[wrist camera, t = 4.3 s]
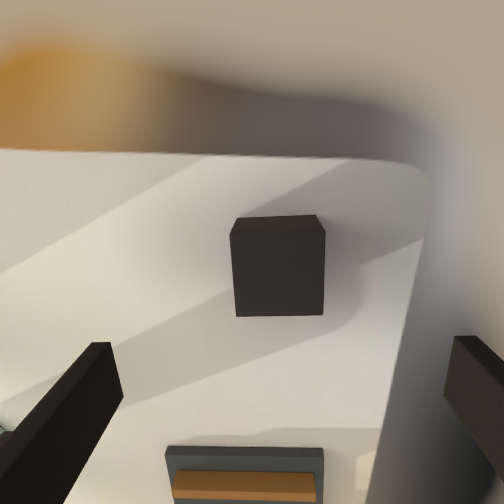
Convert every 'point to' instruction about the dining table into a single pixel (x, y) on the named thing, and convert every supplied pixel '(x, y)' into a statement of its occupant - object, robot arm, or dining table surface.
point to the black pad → (278, 266)
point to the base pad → (245, 475)
